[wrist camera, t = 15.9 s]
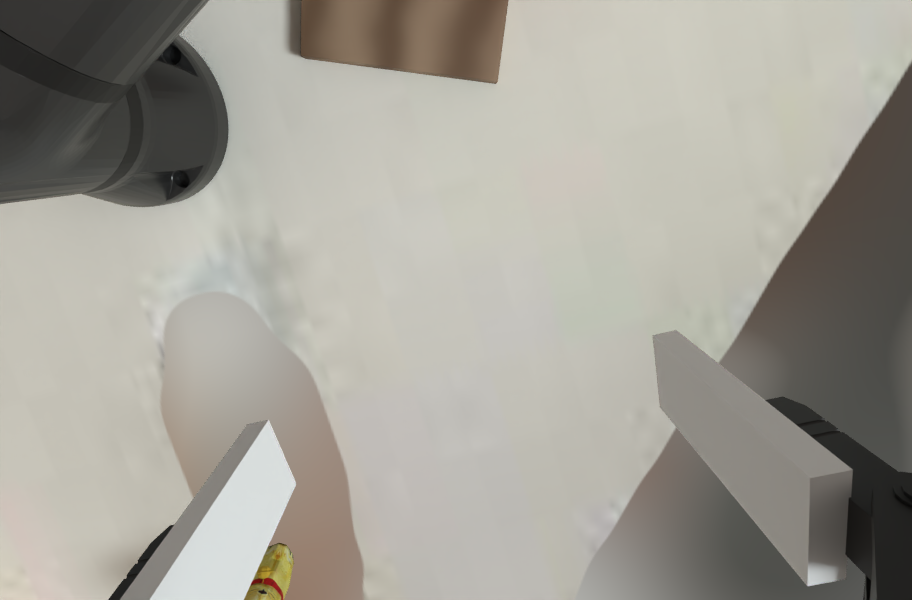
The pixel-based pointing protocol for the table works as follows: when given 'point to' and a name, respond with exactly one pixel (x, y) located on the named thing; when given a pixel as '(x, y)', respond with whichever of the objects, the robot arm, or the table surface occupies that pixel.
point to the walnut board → (408, 35)
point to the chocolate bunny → (272, 574)
